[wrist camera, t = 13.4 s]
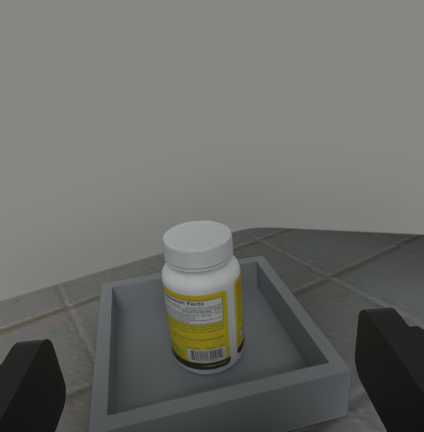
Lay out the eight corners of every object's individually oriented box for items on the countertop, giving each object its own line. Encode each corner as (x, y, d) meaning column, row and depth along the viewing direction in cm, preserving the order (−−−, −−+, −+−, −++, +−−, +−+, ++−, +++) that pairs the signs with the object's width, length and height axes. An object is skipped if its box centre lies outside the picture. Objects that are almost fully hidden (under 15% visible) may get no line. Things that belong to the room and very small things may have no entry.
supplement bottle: (210, 316, 27) (201, 211, 24) (259, 347, 24) (256, 230, 21) (157, 350, 24) (139, 236, 21) (205, 391, 21) (192, 262, 18)
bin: (263, 288, 32) (262, 255, 31) (347, 415, 20) (351, 370, 19) (108, 317, 29) (101, 283, 28) (100, 482, 18) (87, 435, 16)
